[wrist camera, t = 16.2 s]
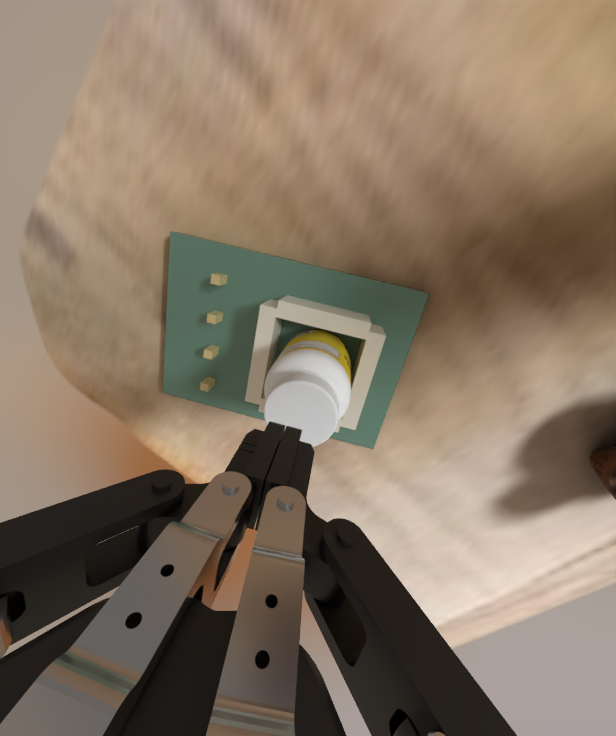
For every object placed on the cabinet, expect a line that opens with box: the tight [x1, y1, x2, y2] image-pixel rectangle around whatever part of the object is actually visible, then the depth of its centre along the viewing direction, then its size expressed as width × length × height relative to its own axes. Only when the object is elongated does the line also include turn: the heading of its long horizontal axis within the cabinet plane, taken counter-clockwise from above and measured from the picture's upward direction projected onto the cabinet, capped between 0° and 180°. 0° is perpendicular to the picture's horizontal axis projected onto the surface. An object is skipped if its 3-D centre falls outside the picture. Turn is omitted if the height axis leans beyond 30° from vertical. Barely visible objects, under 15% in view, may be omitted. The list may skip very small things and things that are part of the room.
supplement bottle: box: [264, 328, 351, 447], centre depth 20 cm, size 5×5×10 cm
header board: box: [163, 231, 429, 449], centre depth 24 cm, size 20×14×4 cm
